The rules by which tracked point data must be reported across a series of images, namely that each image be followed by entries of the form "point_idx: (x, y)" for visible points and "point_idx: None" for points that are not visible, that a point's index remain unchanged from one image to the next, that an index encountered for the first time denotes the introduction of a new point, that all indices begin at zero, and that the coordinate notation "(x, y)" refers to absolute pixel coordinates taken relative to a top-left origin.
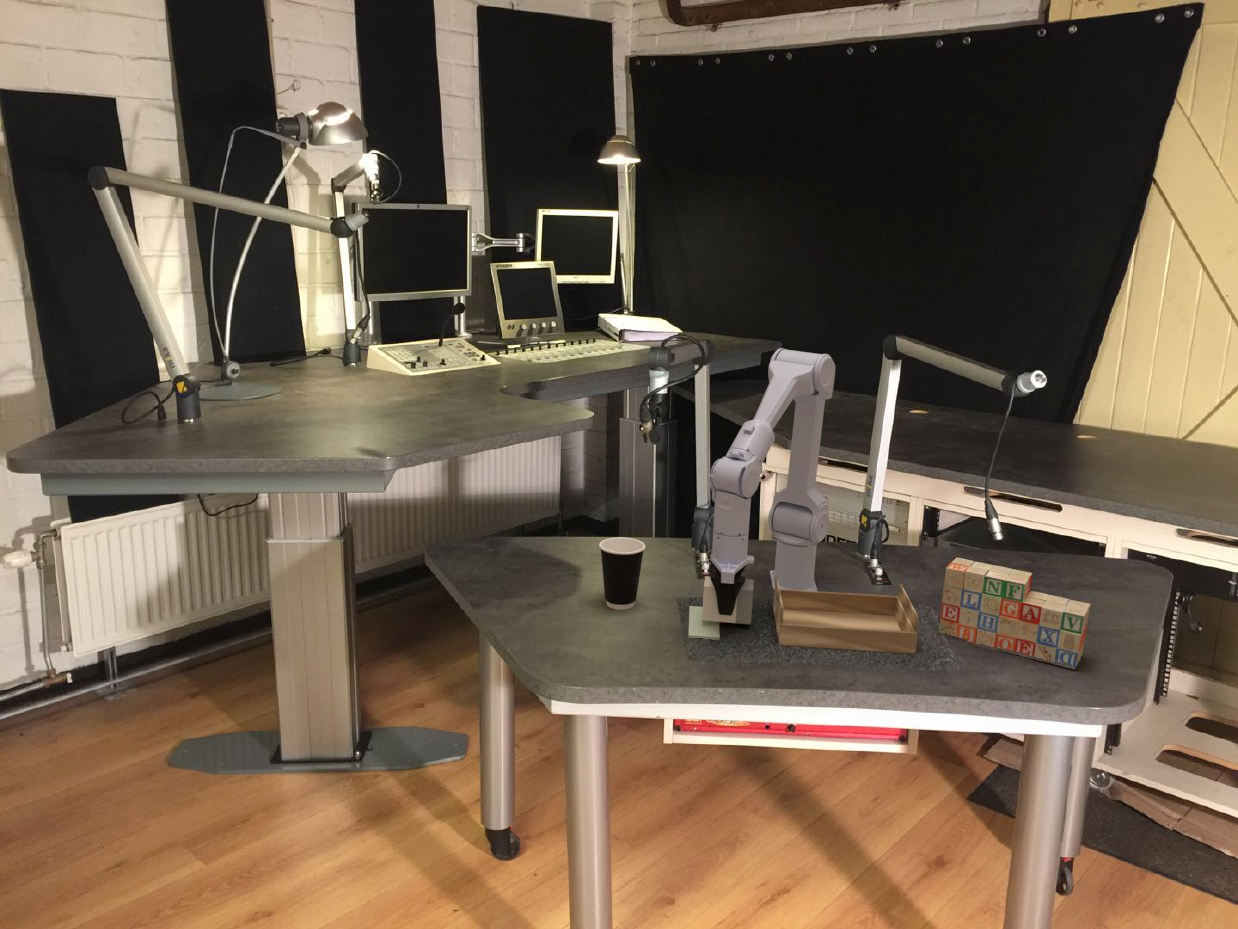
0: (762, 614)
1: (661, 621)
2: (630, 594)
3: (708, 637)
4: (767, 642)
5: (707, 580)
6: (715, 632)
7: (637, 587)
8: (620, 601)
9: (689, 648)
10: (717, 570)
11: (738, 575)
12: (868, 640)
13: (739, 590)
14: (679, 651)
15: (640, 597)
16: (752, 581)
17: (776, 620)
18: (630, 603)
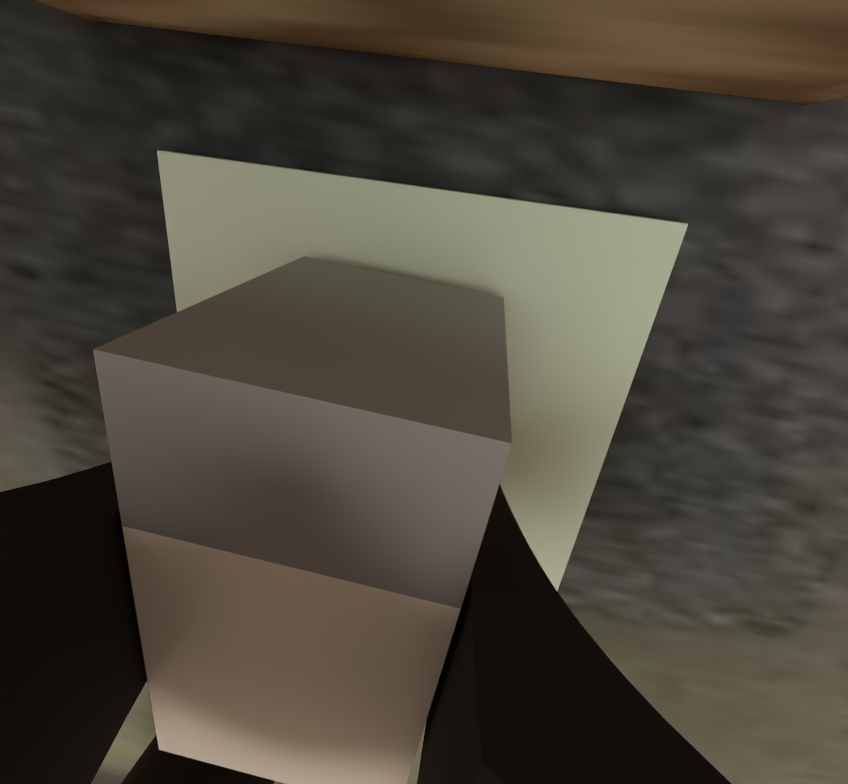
0: (184, 127)
1: None
2: (247, 781)
3: (575, 529)
4: (671, 183)
5: (254, 764)
6: (527, 493)
7: (195, 779)
8: None
9: (662, 611)
10: (85, 767)
11: (78, 559)
12: None
13: (609, 662)
14: (686, 649)
15: None
16: (148, 374)
17: (433, 42)
18: None
